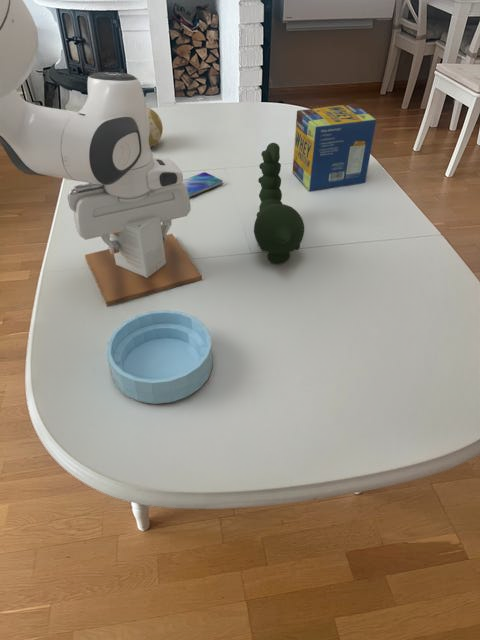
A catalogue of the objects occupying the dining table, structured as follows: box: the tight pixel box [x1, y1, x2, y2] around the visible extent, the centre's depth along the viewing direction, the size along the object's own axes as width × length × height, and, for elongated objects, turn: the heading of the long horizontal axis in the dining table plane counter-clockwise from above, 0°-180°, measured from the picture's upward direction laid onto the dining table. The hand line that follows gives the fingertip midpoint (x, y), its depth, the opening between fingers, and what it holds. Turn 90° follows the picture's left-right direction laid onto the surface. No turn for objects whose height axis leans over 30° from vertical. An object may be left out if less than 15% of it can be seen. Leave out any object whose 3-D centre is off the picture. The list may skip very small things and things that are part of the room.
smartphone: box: [182, 171, 223, 198], centre depth 123 cm, size 7×1×15 cm
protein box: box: [292, 103, 377, 192], centre depth 123 cm, size 10×15×16 cm
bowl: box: [106, 309, 213, 405], centre depth 78 cm, size 15×15×5 cm
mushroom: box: [147, 107, 164, 148], centre depth 138 cm, size 10×11×15 cm
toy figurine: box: [253, 142, 305, 265], centre depth 100 cm, size 9×19×25 cm
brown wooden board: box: [84, 233, 203, 307], centre depth 99 cm, size 18×16×1 cm
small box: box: [110, 216, 166, 278], centre depth 95 cm, size 8×6×10 cm
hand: (138, 245), depth 96 cm, fingers open, 8 cm apart
